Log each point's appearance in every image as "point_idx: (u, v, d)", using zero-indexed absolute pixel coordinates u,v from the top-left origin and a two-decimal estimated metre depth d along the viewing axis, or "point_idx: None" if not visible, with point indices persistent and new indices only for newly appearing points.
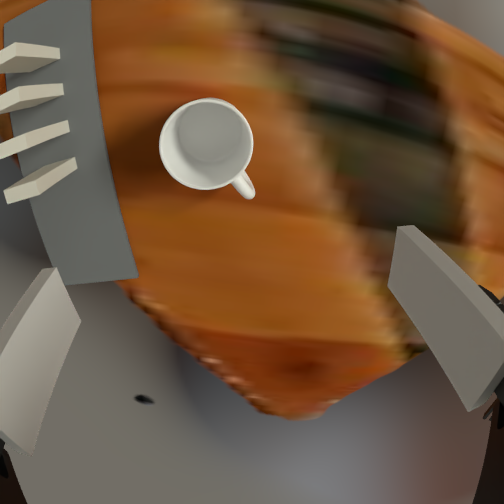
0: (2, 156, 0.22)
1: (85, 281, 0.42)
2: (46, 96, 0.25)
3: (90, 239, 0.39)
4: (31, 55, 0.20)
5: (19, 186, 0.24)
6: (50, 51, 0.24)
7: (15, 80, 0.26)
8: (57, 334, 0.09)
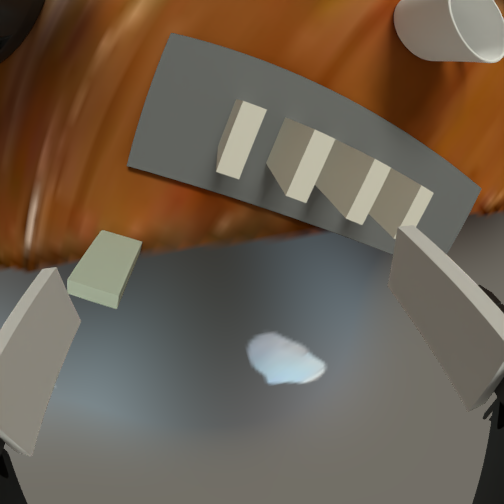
0: (367, 210, 0.22)
1: (451, 242, 0.37)
2: None
3: (435, 202, 0.33)
4: None
5: (409, 211, 0.22)
6: None
7: (226, 177, 0.30)
8: (57, 334, 0.09)
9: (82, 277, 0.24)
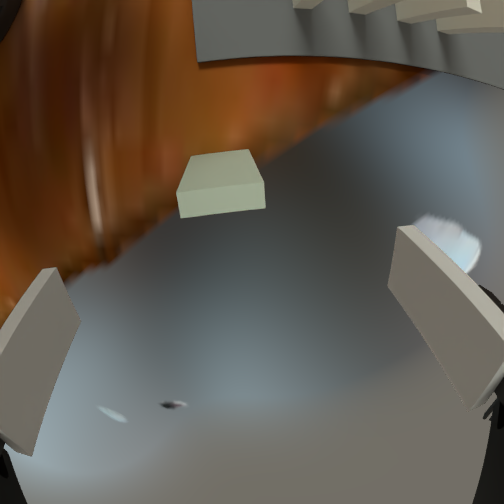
0: None
1: None
2: None
3: None
4: None
5: None
6: None
7: (317, 36, 0.21)
8: (56, 334, 0.09)
9: (198, 185, 0.18)
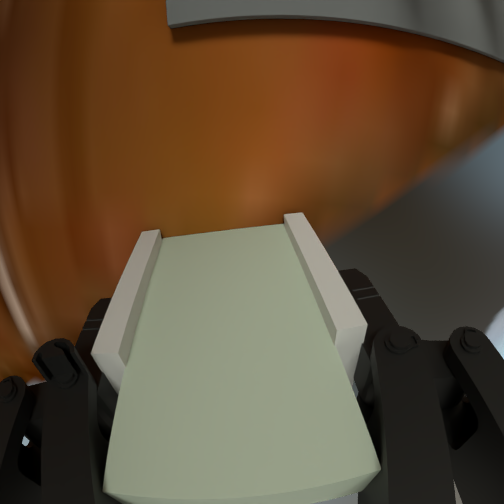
0: None
1: None
2: None
3: None
4: None
5: None
6: None
7: None
8: None
9: (165, 455, 0.05)
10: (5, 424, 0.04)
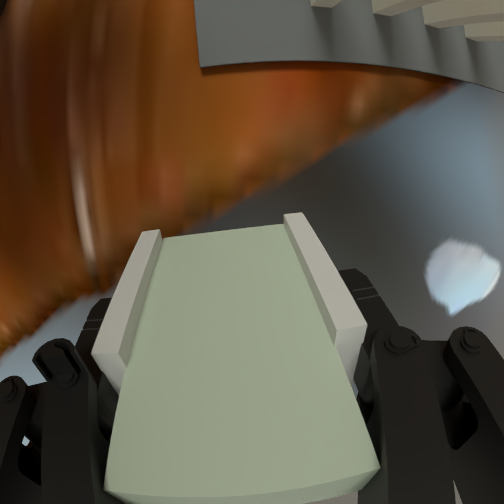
0: None
1: None
2: None
3: None
4: None
5: None
6: None
7: (338, 39, 0.18)
8: None
9: (165, 454, 0.05)
10: (5, 424, 0.04)
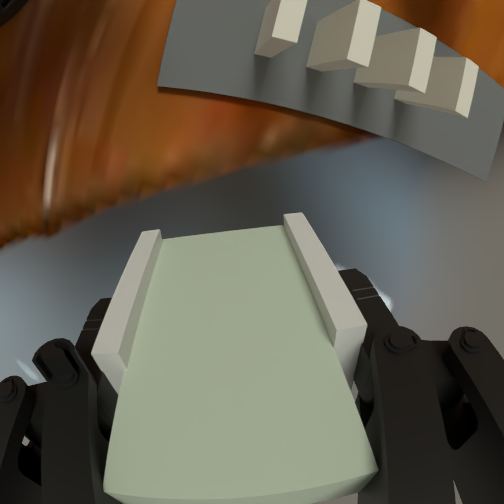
0: (426, 78, 0.17)
1: (494, 148, 0.30)
2: None
3: (472, 105, 0.27)
4: None
5: (462, 83, 0.17)
6: None
7: (267, 84, 0.25)
8: None
9: (164, 456, 0.05)
10: (5, 424, 0.04)
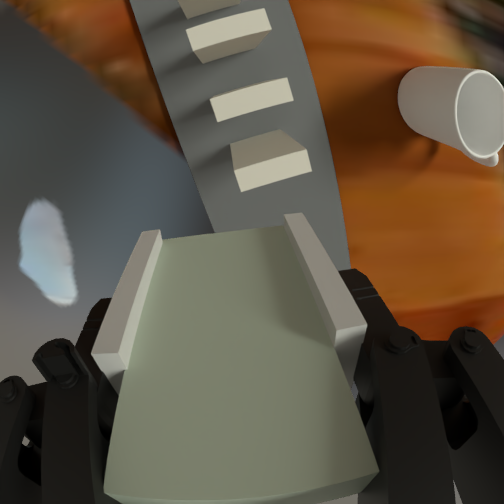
0: (234, 113, 0.18)
1: None
2: (259, 41, 0.20)
3: None
4: None
5: (272, 160, 0.20)
6: None
7: (160, 31, 0.22)
8: None
9: (165, 457, 0.05)
10: (5, 424, 0.04)
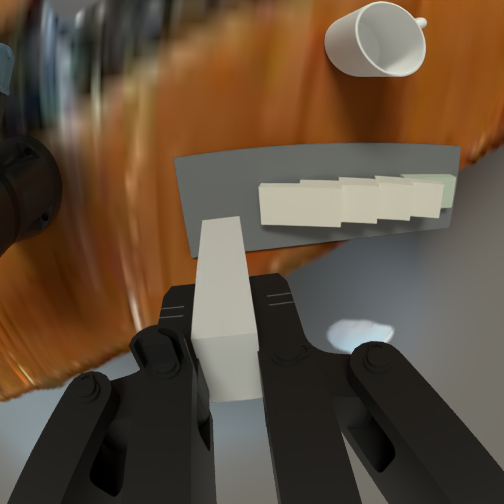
0: None
1: None
2: (334, 181, 0.37)
3: None
4: (317, 184, 0.36)
5: (441, 200, 0.36)
6: (279, 185, 0.37)
7: (262, 237, 0.42)
8: None
9: (448, 200, 0.40)
10: (81, 429, 0.05)
